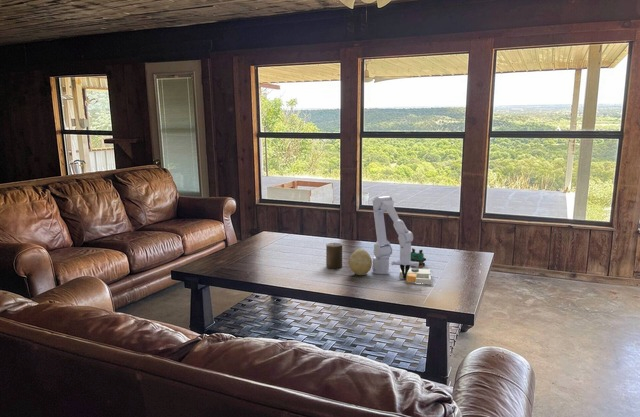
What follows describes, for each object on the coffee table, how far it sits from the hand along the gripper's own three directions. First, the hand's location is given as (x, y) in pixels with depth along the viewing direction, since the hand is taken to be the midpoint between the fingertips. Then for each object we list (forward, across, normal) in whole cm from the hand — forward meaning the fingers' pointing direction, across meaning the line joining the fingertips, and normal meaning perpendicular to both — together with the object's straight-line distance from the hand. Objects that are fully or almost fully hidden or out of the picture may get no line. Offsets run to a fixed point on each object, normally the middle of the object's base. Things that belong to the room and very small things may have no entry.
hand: (404, 278), depth 251 cm
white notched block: (+1, +6, +4) cm, 7 cm away
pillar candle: (+2, -42, +17) cm, 45 cm away
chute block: (+1, +4, 0) cm, 4 cm away
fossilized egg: (+2, -25, +6) cm, 25 cm away
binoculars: (+2, +7, +30) cm, 31 cm away
